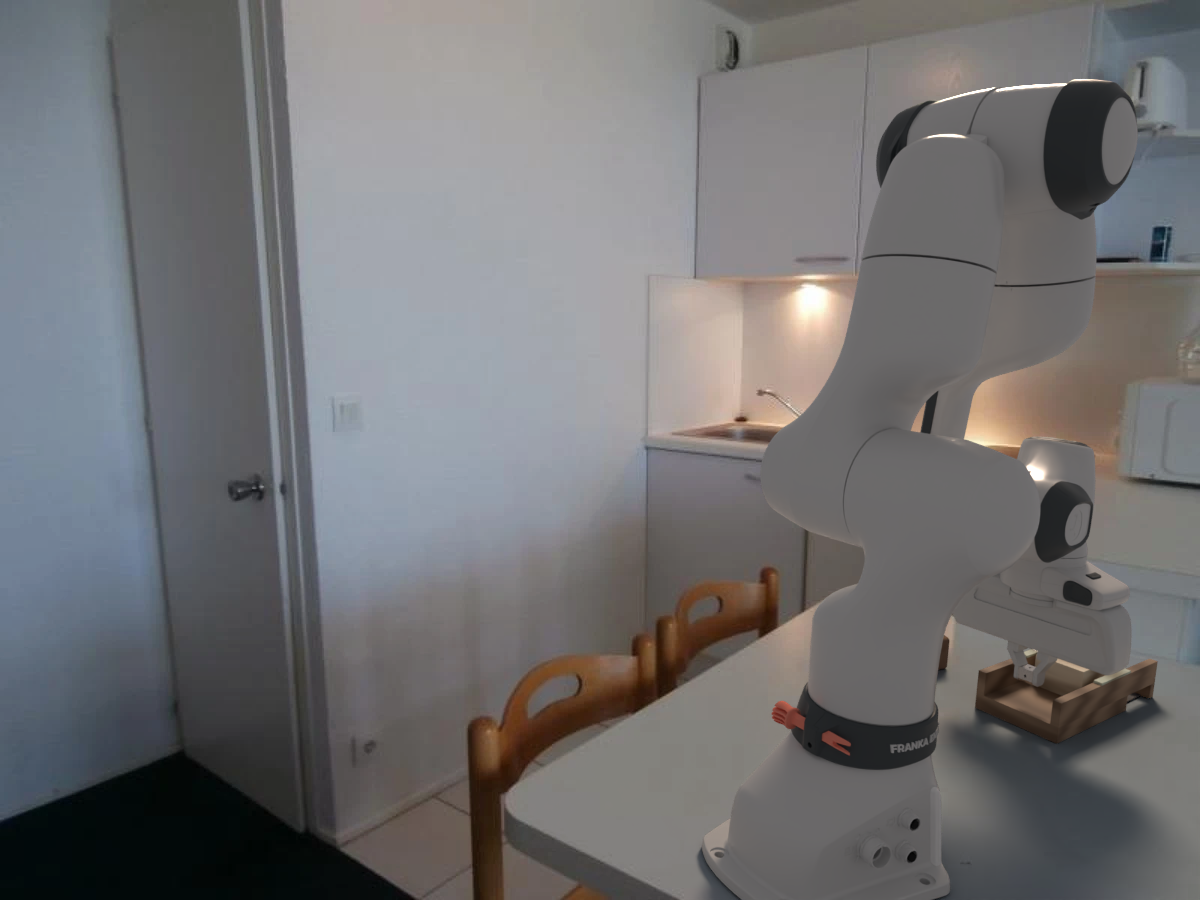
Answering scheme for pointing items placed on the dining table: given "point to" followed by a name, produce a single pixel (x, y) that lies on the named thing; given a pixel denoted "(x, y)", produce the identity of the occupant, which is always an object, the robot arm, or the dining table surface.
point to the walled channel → (1060, 699)
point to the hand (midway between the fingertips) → (1028, 681)
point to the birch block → (1067, 677)
